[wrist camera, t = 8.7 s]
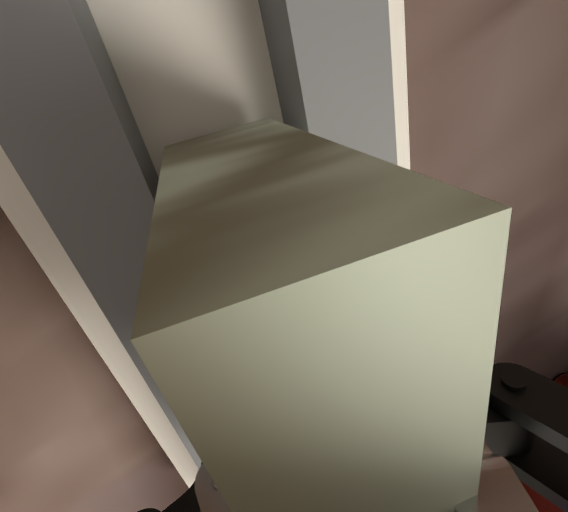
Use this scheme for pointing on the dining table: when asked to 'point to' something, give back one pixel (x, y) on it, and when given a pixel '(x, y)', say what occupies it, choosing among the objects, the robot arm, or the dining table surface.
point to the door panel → (321, 321)
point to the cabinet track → (169, 130)
